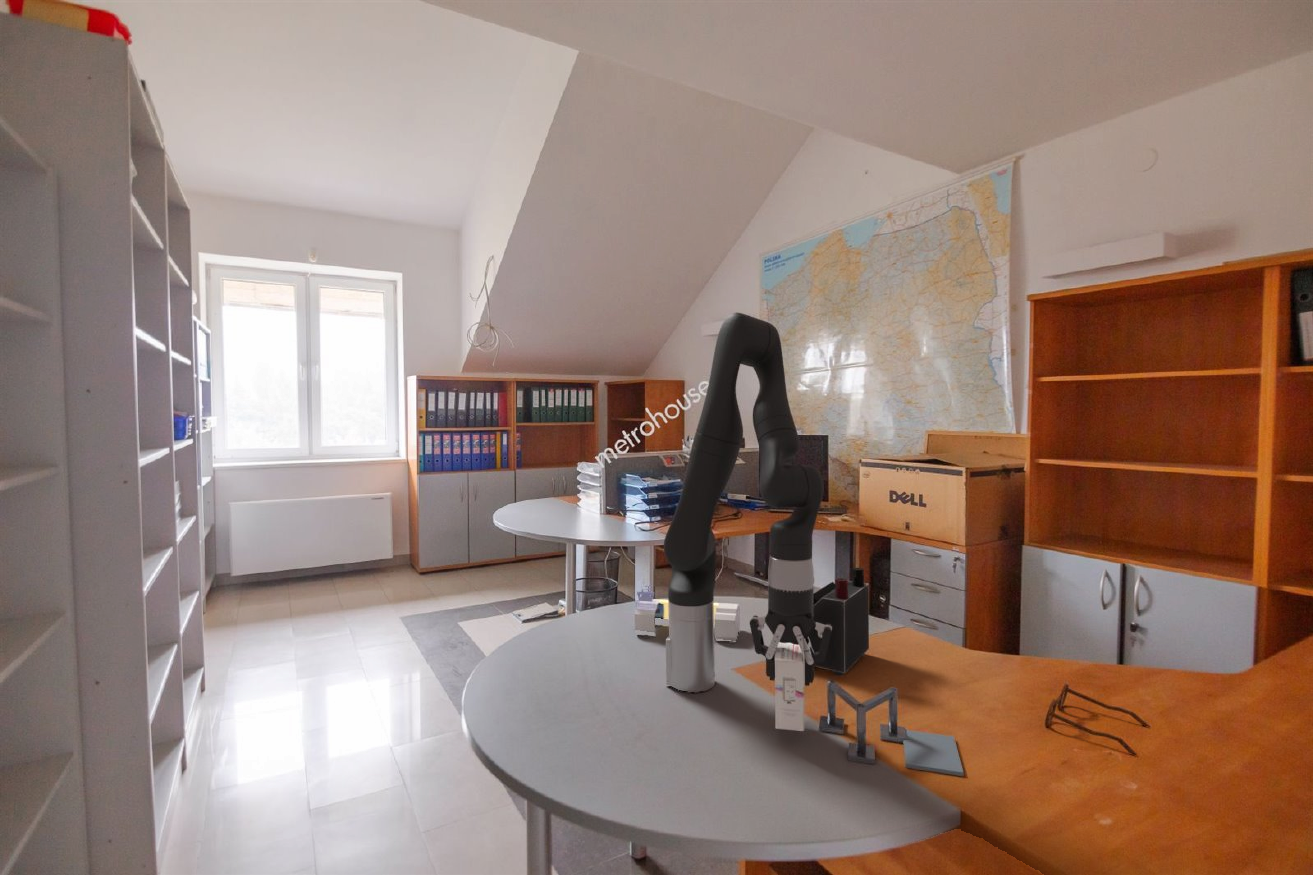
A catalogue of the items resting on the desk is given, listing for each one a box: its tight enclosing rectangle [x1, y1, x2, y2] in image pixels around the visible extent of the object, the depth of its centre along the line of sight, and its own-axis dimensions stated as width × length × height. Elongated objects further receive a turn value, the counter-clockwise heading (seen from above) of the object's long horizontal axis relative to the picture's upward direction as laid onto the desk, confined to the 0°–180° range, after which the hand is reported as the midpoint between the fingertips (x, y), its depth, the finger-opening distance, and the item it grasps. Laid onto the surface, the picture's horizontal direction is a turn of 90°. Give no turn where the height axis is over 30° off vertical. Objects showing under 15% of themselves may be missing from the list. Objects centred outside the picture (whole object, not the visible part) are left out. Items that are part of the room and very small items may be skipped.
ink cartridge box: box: [774, 639, 806, 732], centre depth 105 cm, size 9×5×15 cm, turn 167°
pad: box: [902, 729, 964, 777], centre depth 99 cm, size 8×11×1 cm
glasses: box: [1044, 683, 1151, 756], centre depth 106 cm, size 13×13×5 cm
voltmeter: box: [774, 567, 870, 677], centre depth 138 cm, size 16×16×20 cm
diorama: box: [634, 584, 741, 642], centre depth 156 cm, size 25×10×13 cm, turn 76°
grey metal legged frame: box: [818, 679, 907, 765], centre depth 102 cm, size 14×12×8 cm
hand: (790, 681), depth 105 cm, fingers closed on ink cartridge box, 5 cm apart
